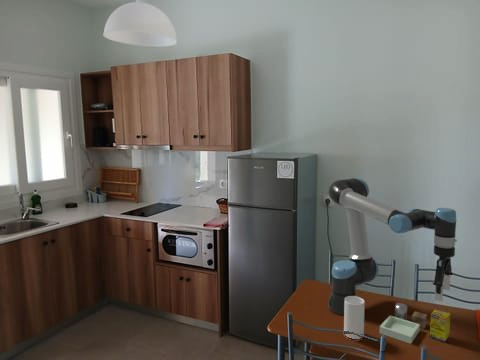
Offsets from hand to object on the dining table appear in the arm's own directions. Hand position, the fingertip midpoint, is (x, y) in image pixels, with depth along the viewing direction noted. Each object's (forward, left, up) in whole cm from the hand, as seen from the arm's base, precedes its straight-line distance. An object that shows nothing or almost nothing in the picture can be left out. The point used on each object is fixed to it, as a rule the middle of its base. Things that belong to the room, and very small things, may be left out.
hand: (442, 294), depth 150 cm
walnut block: (-10, +6, -19) cm, 22 cm away
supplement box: (0, 0, -20) cm, 20 cm away
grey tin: (-18, +6, -19) cm, 27 cm away
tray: (-15, -6, -19) cm, 25 cm away
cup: (-29, -21, -19) cm, 41 cm away
